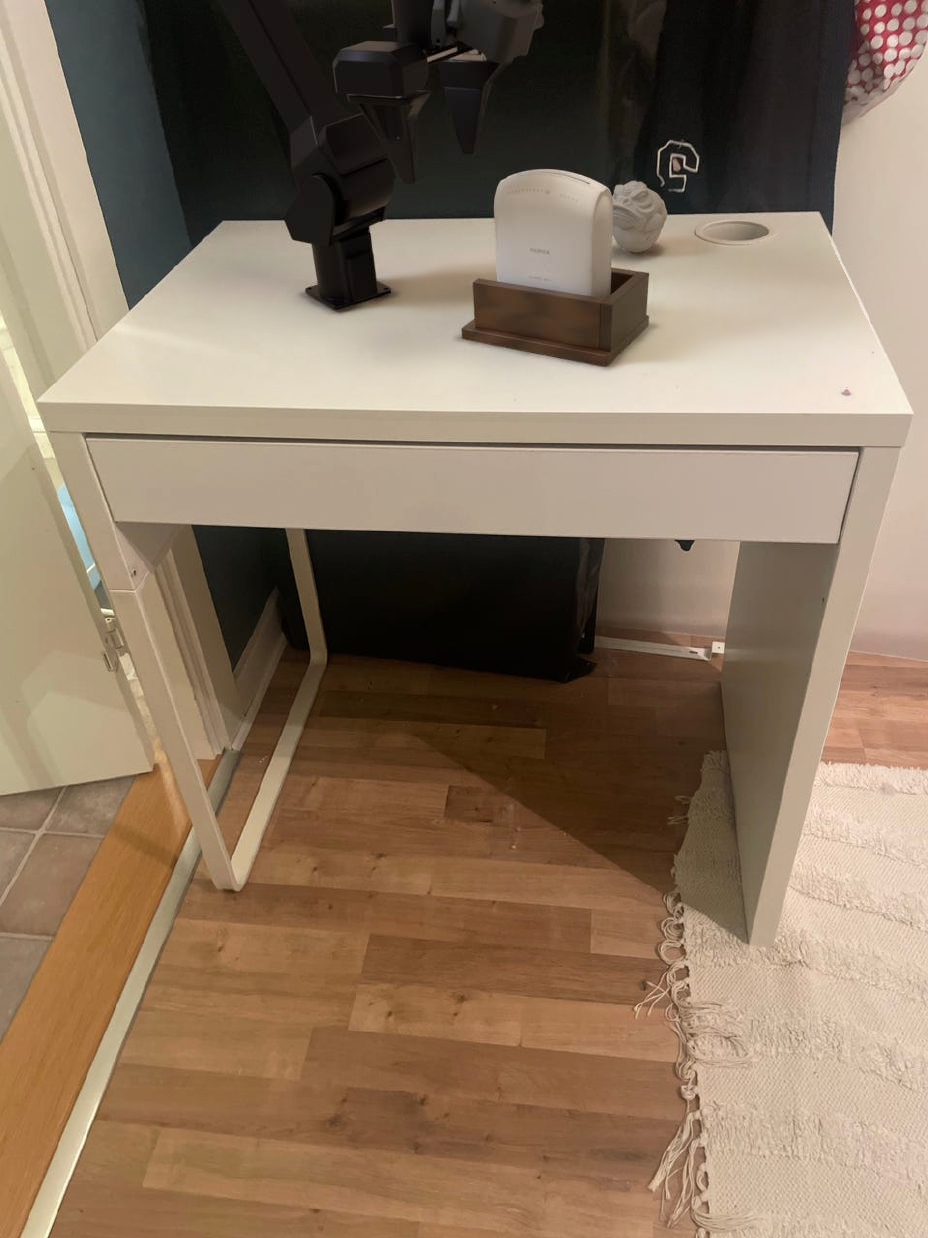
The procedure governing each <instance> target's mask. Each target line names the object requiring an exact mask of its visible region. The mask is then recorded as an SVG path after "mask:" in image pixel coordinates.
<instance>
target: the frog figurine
mask: <svg viewBox="0 0 928 1238" xmlns="http://www.w3.org/2000/svg"><path fill="white" fill-rule="evenodd" d="M612 200H613V227H612V229H613V230H612V237H613V238H614V240H615V243H616V244H617V245H618V246H619V247H620V248H621V249H623V250H624V251H626V252H629V253H641V252H645V251H647V250H649V249H650V248H651V247H653V246H654V245H655V244H656V242H657V241H658V240H659V238H660V236H661V233H662V230H663V228H664V226H665V223H666V221H667V219H668V210H667V208H666V204H665V201H664V199H662V197H661V196H660V195H659V194H658V193H657V192H656V191H654V190H652V189H650V188H648V187H647V184H645V183H644V182H643V181H637V180H631V181H629V182H627V183H625V184H616V185H615V187H614V189H613V195H612Z"/></svg>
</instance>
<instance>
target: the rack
mask: <svg viewBox="0 0 928 1238" xmlns="http://www.w3.org/2000/svg"><path fill="white" fill-rule="evenodd" d="M649 283H650V273H649V272H647V271H639V270H632V269H626V268H625V269H624V268H617V267H613V266H611V295H610V296H609V297H608V298H607V299H604V298H598V297H591V296H585V295H579V294H573V293H567V292H560V291H554V290H548V289H542V288H536V287H529V286H523V285H517V284H511V283H505V282H498V281H497V280H491V279H485V278H476V279H475V280H473V281H472V297H473V315H474V318H473V319H472V320H471V321H469V322H468V323H466V324H465V325H464V326H462V327H461V331H460V332H461V339H463V340H467V341H473V342H478V343H482V344H488V345H493V346H499V347H504V348H507V349H513V350H519V351H524V352H530V353H533V354H534V353H535V354H540V355H544V356H551V357H556V358H559V359H565V360H570V361H574V362H580V363H585V364H591V365H596V366H601V367H608V366H609V364H611V362H613V361H614V360H615V359H616V358H617V357H618V356H619V355H620V354H621V353H622V352H623V351H624V350H625V349H626V348H627V347H628V346H629V345H631V344H632V342H634V340H636V339H637V338H638V337H639V336H640V335H641V334H642V333H643V332H644V331H645V330H646V329H647V328H648V327H649V324H650V315H648V314H647V312H648V311H647V310H648V298H649Z"/></svg>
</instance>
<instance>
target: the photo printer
mask: <svg viewBox="0 0 928 1238" xmlns="http://www.w3.org/2000/svg"><path fill="white" fill-rule="evenodd" d="M612 196H613V195H612V192H611V190H610V188H609V187H607V186H606V185H605V184H603V183H600V182H599V181H597V180H595V179H593V178H590V177H587V176H585V175H582V174H579V173H575V172H572V171H567V170H561V169H553V168H552V169H551V168H539V169H537V168H536V169H530V170H529V169H527V170H525V171H520V172H517V173H513V174H511V175H509V176H507V177H506V178H504V179H501V180H500V181H499V183H498V185H497V187H496V189H495V195H494V202H493V217H494V219H493V221H494V239H495V240H494V241H495V242H494V243H495V244H494V245H495V262H496V281H498V282H505V283H511V284H517V285H523V286H529V287H536V288H542V289H548V290H554V291H560V292H567V293H573V294H579V295H585V296H591V297H598V298H604V299H607V298H608V297H609V296H610V295H611V267H612V259H613V257H612V255H613V253H612V252H613V235H612V230H613V229H612V227H613V200H612Z"/></svg>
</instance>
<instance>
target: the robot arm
mask: <svg viewBox="0 0 928 1238" xmlns="http://www.w3.org/2000/svg"><path fill="white" fill-rule="evenodd" d="M217 1H218V3H219V5H220V7H221V9H222V10H223V12H224V14H225V16H226V18H227V19H228V21H229V23H230V25H231V27H232V29H233V30H234V33H235V35H236V36H237V39H238V40H239V42H240V43H241V45H242V47H243V49H244V51H245V52H246V54H247V57H248V58H249V60H250V62H251V64H252V66H253V68H254V70H255V71H256V73H257V74H258V76H259V78H260V80H261V82H262V84H263V85H264V87H265V89H266V92H267V93H268V96H269V97H270V99H271V100H272V102H273V105H274V106H275V108H276V110H277V111H278V114H279V115H280V117H281V118H282V119H281V120H282V121H283V122H284V125H285V126H286V128H287V131H288V132H289V136H290V160H291V161H290V162H291V172H292V174H293V177H294V179H295V182H296V184H297V186H298V189H299V191H298V192H297V194H296V196H295V198H294V199H293V201H292V202H291V204H290V205H289V207H288V209H287V210H286V212H285V214H284V215H283V221H284V223H285V227H286V229H287V231H288V233H289V236H290V239H291V240H292V241H295V242H300V243H305V244H310V245H311V250H312V258H313V262H314V270H315V276H316V283H317V284H314V285H311V286H307V287H305V288H304V293H305V295H307V296H309V297H310V298H312V299H314V300H316V301H318V302H319V303H321V304H323V305H324V306H325V307H328V308H329V309H332V310H333V311H341V310H344V309H348V308H350V307H355V306H357V305H360V304H363V303H366V302H370V301H373V300H376V299H379V298H382V297H383V298H384V297H386V296H389V295H391V294H392V288H391V287H390V286H388V285H386V284H385V283H382V282H380V281H378V278H377V272H376V261H375V254H374V250H373V248H374V247H373V240H372V233H371V226H373V225H376V224H378V223H382V222H385V221H386V219H387V215H388V210H389V203H390V201H391V199H392V196H393V193H394V188H395V181H396V174H395V173H396V172H397V173H398V175H399V178H400V179H401V181H402V182H403V183H404V184H405V185H409V186H414V185H416V184H417V183H418V176H419V175H418V174H419V112H420V111H421V109H422V107H423V106H424V105H425V103H426V102H427V100H428V99H429V97H430V96H431V93H432V91H430V90H423V89H425V86H426V82H427V80H428V76H429V67H432V66H434V65H436V64H437V66H438V69H439V73H440V78H441V81H442V85H443V89H444V92H445V96H446V100H447V104H448V107H449V111H450V115H451V119H452V122H453V126H454V130H455V134H456V137H457V140H458V144H459V147H460V150H461V153H462V154H463V155H466V156H473V155H475V154H476V152H477V148H478V144H479V139H480V135H481V130H482V126H483V122H484V116H485V113H486V112H485V111H486V107H487V104H488V100H489V95H490V93H491V89H492V86H493V84H494V81H495V80H496V79H497V78H498V77H499V76H500V74H501V73H502V72H503V71H504V70H505V68H506V67H508V66H509V65H511V64H512V62H513V60H514V59H515V58H517V57H519V56H521V57H525V56H527V55H528V52H529V50H530V46H531V42H532V38H533V34H534V31H535V30H537V29H540V28H542V27H543V26H544V23H545V18H544V15H543V14H542V11H543V8H544V5H543V4H542V0H391V11H392V22H393V23H391V24H388V25H385V26H384V25H383V26H382V37H383V41H375V40H366V41H363V42H360V43H356V44H354V45H350V46H347V47H344V48H341V49H340V50H339V51H338V53H337V54H336V56H335V58H334V59H333V61H332V71H333V79H334V80H333V81H334V86H335V87H334V88H335V93H337V94H341V95H342V94H344V95H346V97H347V100H348V102H349V103H350V104H356V105H357V107H358V108H359V110H360V112H361V113H358V114H355V115H353V114H351V113H350V112H348V111H347V110H346V109H344V107H342V106H341V105H340V104H339V103H338V101H337V99H336V97H335V96H334V94H333V92H332V90H331V88H330V86H329V84H328V82H327V80H326V79H325V77H324V75H323V73H322V71H321V69H320V67H319V65H318V64H317V62H316V60H315V57H314V56H313V54H312V52H311V50H310V48H309V46H308V44H307V43H306V40H305V38H304V36H303V35H302V33H301V31H300V29H299V27H298V25H297V23H296V21H295V20H294V17H293V15H292V13H291V12H290V10H289V8H288V6H287V4H286V1H284V0H217ZM394 168H395V169H394ZM395 170H396V172H395Z"/></svg>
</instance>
